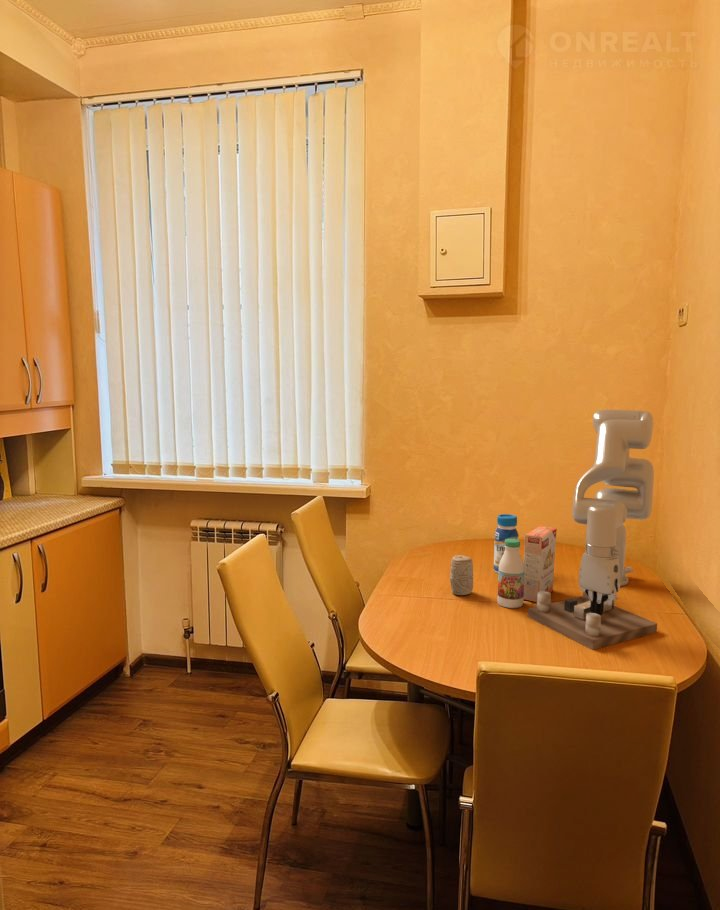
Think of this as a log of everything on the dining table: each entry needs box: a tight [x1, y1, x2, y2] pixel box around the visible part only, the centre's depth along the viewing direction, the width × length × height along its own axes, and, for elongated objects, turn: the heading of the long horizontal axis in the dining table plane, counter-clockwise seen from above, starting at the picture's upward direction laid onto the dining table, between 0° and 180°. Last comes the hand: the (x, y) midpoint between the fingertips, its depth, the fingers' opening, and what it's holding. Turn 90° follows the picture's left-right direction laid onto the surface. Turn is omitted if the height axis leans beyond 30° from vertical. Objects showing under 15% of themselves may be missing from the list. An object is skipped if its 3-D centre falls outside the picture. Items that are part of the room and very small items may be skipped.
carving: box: [449, 554, 474, 596], centre depth 198 cm, size 6×8×12 cm
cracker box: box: [523, 525, 557, 603], centre depth 196 cm, size 14×6×21 cm, turn 146°
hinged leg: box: [574, 600, 615, 620], centre depth 177 cm, size 16×3×4 cm, turn 126°
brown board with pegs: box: [527, 591, 658, 651], centre depth 174 cm, size 24×24×8 cm
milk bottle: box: [496, 539, 524, 609], centre depth 189 cm, size 8×8×20 cm
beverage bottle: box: [493, 513, 520, 574], centre depth 219 cm, size 8×8×20 cm
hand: (596, 615), depth 171 cm, fingers closed
